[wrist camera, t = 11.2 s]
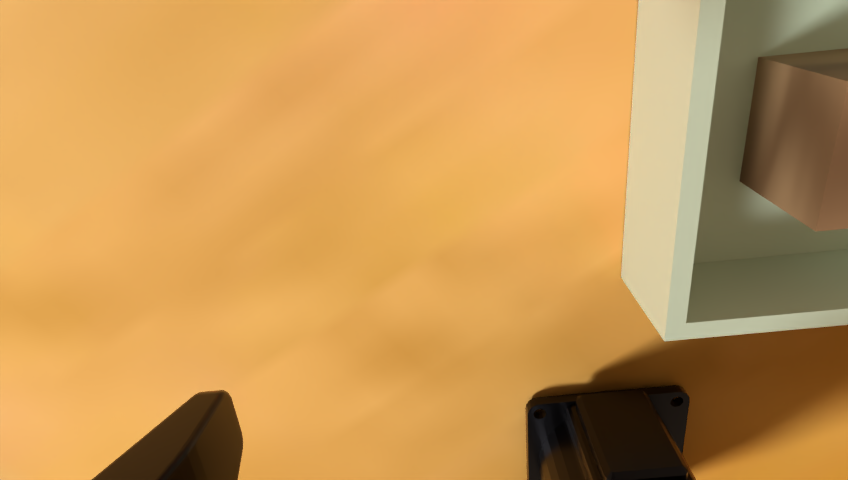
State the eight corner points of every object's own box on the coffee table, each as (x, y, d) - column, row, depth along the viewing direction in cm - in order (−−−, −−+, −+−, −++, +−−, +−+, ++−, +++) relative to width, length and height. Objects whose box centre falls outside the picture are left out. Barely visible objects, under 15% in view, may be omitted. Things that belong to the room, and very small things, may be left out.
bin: (928, 249, 21) (1034, 307, 18) (621, 277, 21) (664, 341, 18) (1040, -105, 16) (1220, -125, 13) (642, -64, 17) (708, -72, 13)
